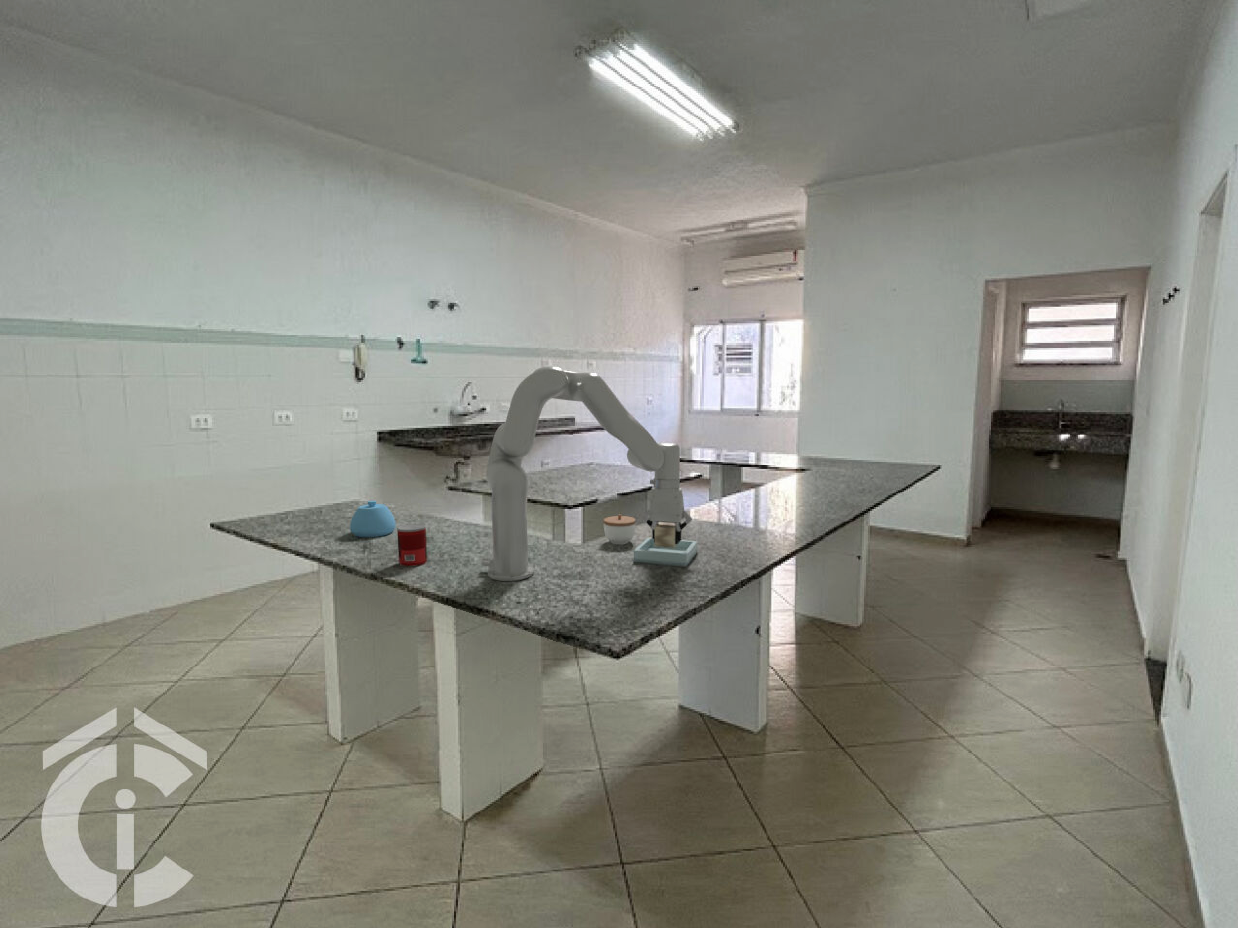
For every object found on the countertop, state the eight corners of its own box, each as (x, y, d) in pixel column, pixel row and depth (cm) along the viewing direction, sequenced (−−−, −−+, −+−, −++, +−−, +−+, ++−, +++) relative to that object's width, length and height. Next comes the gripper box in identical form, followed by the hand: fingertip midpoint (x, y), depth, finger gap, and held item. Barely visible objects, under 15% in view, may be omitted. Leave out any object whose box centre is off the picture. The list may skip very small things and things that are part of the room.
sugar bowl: (341, 537, 213) (339, 504, 212) (366, 527, 228) (364, 496, 226) (381, 539, 211) (379, 505, 209) (403, 528, 225) (402, 497, 224)
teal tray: (633, 561, 184) (633, 550, 183) (648, 547, 199) (648, 537, 198) (686, 566, 179) (686, 555, 178) (697, 552, 194) (697, 541, 194)
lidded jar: (618, 548, 199) (618, 519, 197) (597, 541, 207) (596, 514, 205) (642, 542, 206) (642, 514, 204) (621, 536, 214) (621, 509, 212)
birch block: (654, 546, 187) (654, 526, 186) (659, 541, 192) (659, 522, 191) (674, 547, 185) (674, 528, 184) (678, 542, 190) (678, 523, 190)
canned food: (432, 562, 184) (430, 526, 182) (407, 568, 178) (405, 531, 177) (419, 557, 189) (417, 522, 188) (394, 563, 183) (392, 526, 182)
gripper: (635, 484, 185) (636, 543, 188) (692, 487, 180) (692, 547, 182) (642, 480, 192) (642, 537, 195) (697, 483, 187) (697, 541, 189)
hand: (666, 541), depth 188 cm, fingers closed on birch block, 6 cm apart
